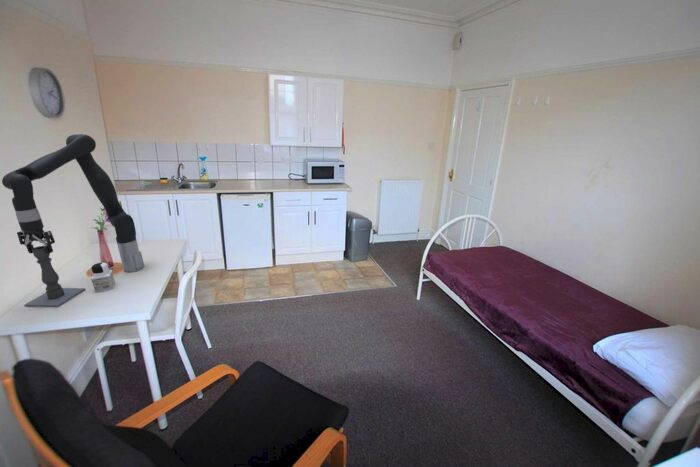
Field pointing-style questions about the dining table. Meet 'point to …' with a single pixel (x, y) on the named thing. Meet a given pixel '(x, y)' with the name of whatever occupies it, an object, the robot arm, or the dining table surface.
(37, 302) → the mat
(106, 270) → the container
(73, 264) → the dining table surface
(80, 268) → the dining table surface
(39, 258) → the candle holder
